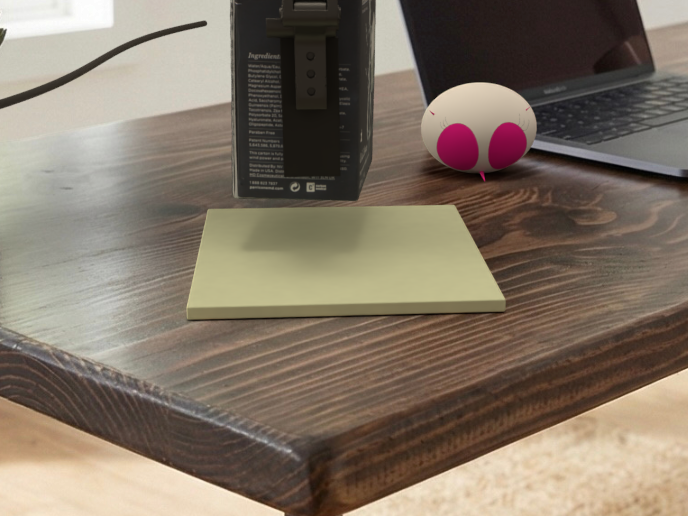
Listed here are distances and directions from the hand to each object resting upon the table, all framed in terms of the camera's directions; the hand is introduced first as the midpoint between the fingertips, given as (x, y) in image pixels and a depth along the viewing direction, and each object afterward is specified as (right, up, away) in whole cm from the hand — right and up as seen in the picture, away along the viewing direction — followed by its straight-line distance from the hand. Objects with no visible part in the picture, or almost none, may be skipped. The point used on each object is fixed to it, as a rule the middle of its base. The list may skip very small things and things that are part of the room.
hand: (309, 152), depth 68 cm
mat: (+2, -6, -3) cm, 7 cm away
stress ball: (+9, +1, +17) cm, 20 cm away
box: (0, -2, +1) cm, 2 cm away
